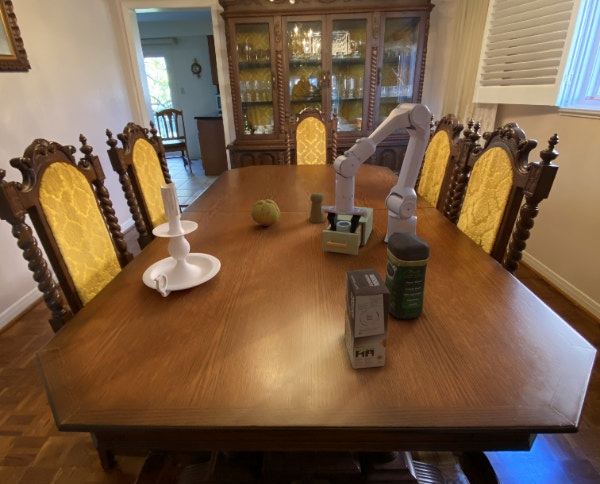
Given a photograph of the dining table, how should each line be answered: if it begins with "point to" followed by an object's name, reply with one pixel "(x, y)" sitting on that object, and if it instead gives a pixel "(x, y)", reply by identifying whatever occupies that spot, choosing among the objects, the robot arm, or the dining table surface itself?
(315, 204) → the cork
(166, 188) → the candlestick
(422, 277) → the coffee jar
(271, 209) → the fruit
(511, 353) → the dining table surface
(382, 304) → the coffee box
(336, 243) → the drawer
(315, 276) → the dining table surface
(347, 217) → the cabinet
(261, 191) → the dining table surface
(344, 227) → the jar
